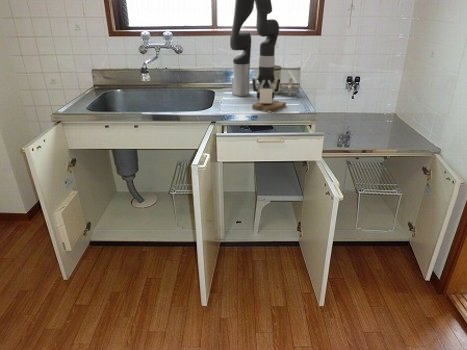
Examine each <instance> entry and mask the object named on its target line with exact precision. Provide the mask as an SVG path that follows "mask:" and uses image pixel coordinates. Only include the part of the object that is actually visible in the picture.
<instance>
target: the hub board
mask: <svg viewBox="0 0 467 350" xmlns="http://www.w3.org/2000/svg"><path fill="white" fill-rule="evenodd" d="M251 107H252V109H253V110H258V111H262V110H265V111H264V112H267V111H271V112H270V113H272V112H274V111H276V112H278V111H279V109H280V110H282V109H283V108H285V107H287V102H286V101H280V100H275V99H273V100H272V103H268V104H262V103H260V102H259V101H258V102H256V103H252V106H251ZM277 110H278V111H277ZM274 113H275V112H274Z"/></svg>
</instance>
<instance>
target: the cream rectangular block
mask: <svg viewBox="0 0 467 350" xmlns="http://www.w3.org/2000/svg"><path fill="white" fill-rule="evenodd" d="M258 102H260V103H272V88H270V86H269V87H267V86H265V87H263V86H262V88H260V100H258Z"/></svg>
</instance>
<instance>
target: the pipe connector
mask: <svg viewBox="0 0 467 350" xmlns="http://www.w3.org/2000/svg"><path fill="white" fill-rule="evenodd" d="M282 88H283V89H287V96H288V97H291V96H292V90H293V89H300V84H293V77H292V76H290V77H288V84H281V83H280V89H282Z"/></svg>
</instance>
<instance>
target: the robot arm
mask: <svg viewBox="0 0 467 350" xmlns="http://www.w3.org/2000/svg"><path fill="white" fill-rule="evenodd" d="M254 6H255V7H256V8H255V7H254ZM254 8H255V9H256V32H257V34H258V35H259V36H260V37H262V38H265V40H264V41H262V42H261V43H260V44H259V59H258V77H256V78H252V79H250V77H251V75H250V74H251V54H252V53H251V51H252V35H251V33H250V31H241V29H242V27H243V25H244V23H245V22H246V21H247V20H248V19H249V17H250V16H251V14H252V12H253V10H254ZM272 12H273V4H272V0H235V1H234V12H233V19H232V20H233V21H232V27H231V32H230V38H229V45H230V46H229V47H230V48H231V50H232V51H242V52H241V53H240V54H238V55H236V56H234V57H233V60H232V61H233V62H232V64H233V70H232V71H233V73H232V74H233V76H232V77H231V95H233V96H237V97H246V96H250V92H251V91H250V89H251V88H250V83H251V81H252V89H253V92H256V99H257V100H258V101H259V100H260V88H262V86H263V87H265V86H267V87H269V86H270V88H272V100H275V94H276V93H275V92H276V91H278V90H279V85H280V86H281V79H280V78H275V77H274V66H275V65H276V64H275V63H276V61H275V60H276V59H275V52H276V51H275V49H276V47H275V46H276V43H277V42H278V41H277V40H278V37H279V33H280V25H279V22H278V20H276V19H275V18H274V19H270V18H269V19H268V15H269V14H271V13H272ZM250 80H251V81H250ZM274 81H276V88H275V89H274V88H273V86H272V83H273V82H274ZM257 82H258V83H259V85H258V86H257V87H256V84H257ZM274 93H275V94H274Z"/></svg>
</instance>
